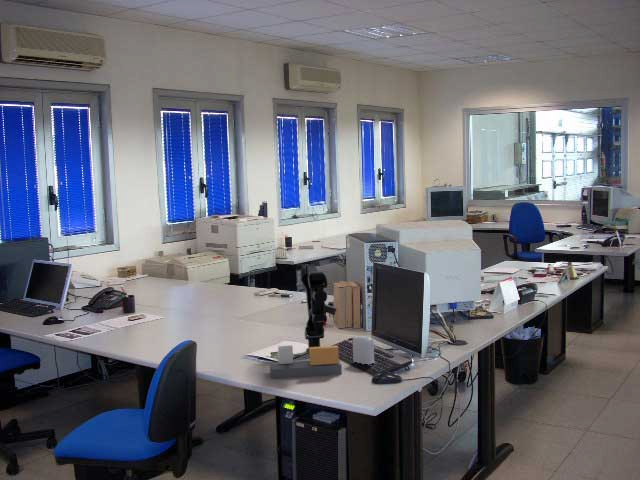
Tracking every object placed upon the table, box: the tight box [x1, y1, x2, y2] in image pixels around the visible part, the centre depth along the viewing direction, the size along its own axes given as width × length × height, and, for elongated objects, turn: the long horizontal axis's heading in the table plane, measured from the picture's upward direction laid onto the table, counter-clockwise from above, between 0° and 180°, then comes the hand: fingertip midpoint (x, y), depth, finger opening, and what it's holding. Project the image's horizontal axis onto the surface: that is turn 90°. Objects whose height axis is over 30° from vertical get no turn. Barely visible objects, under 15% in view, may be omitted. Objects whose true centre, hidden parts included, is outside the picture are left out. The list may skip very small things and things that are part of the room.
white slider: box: [277, 345, 294, 364], centre depth 294 cm, size 3×6×7 cm, turn 97°
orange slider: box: [308, 345, 340, 365], centre depth 291 cm, size 3×12×7 cm, turn 97°
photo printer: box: [352, 335, 375, 366], centre depth 304 cm, size 10×4×12 cm, turn 47°
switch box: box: [268, 359, 343, 380], centre depth 293 cm, size 10×30×4 cm, turn 97°
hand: (318, 333), depth 313 cm, fingers open, 9 cm apart
